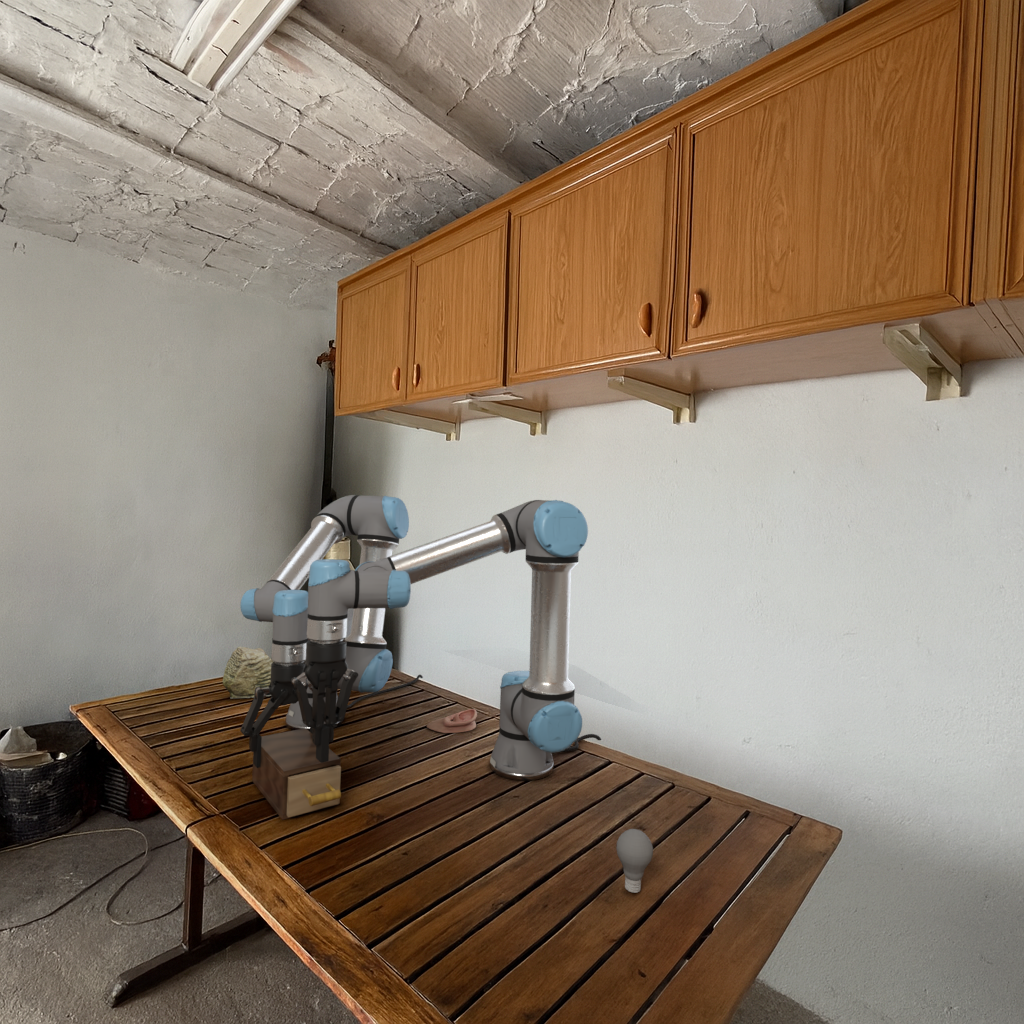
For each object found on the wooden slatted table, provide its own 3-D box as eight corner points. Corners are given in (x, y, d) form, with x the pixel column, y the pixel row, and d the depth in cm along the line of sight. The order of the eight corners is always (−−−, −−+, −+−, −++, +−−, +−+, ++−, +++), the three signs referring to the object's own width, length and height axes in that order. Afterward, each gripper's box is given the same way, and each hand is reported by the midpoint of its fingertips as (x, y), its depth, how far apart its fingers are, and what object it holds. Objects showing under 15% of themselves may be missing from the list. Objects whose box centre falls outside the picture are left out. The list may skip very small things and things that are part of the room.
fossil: (218, 695, 195) (220, 647, 195) (278, 685, 208) (279, 640, 207) (228, 703, 189) (230, 653, 188) (289, 692, 201) (290, 645, 201)
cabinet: (338, 804, 131) (340, 758, 131) (282, 820, 124) (284, 771, 123) (304, 769, 147) (305, 727, 147) (252, 781, 140) (253, 737, 139)
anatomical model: (423, 716, 174) (436, 703, 185) (422, 730, 174) (436, 716, 185) (470, 721, 171) (480, 708, 182) (469, 736, 171) (480, 722, 182)
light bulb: (610, 879, 108) (613, 822, 108) (644, 879, 109) (647, 822, 109) (619, 902, 102) (622, 840, 102) (655, 901, 103) (658, 840, 103)
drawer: (351, 815, 125) (352, 777, 125) (298, 830, 118) (300, 790, 118) (306, 770, 144) (307, 737, 144) (259, 781, 138) (260, 746, 137)
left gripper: (236, 672, 129) (232, 778, 129) (347, 658, 144) (344, 753, 144) (227, 663, 135) (223, 764, 135) (334, 651, 150) (331, 742, 150)
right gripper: (300, 647, 116) (295, 774, 117) (366, 639, 124) (361, 759, 125) (286, 638, 122) (282, 760, 123) (350, 632, 130) (345, 746, 131)
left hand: (285, 759), depth 140 cm, fingers closed on cabinet, 12 cm apart
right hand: (322, 759), depth 124 cm, fingers closed
